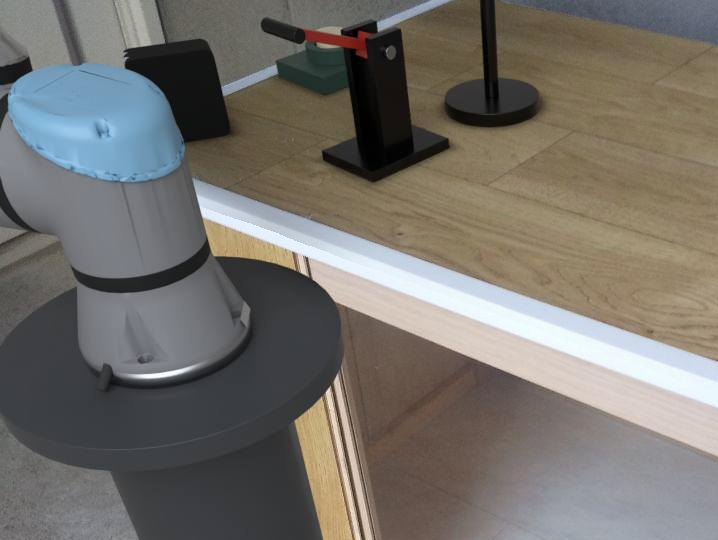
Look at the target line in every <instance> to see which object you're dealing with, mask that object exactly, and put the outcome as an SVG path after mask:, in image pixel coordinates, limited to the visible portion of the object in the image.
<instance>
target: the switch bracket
mask: <svg viewBox="0 0 718 540" xmlns="http://www.w3.org/2000/svg"><path fill="white" fill-rule="evenodd" d="M342 28H343V29H341V35H343V36H348V37H354V38H358V31H363V32H368V33H373V35H371V36H368V37H365V44H366V51H367V58H364V57H361V56H358V55H356V49H352V48H346V47H343V51H344V57H345V64H346V71H347V78H348V84H349V86H348V91H349V97H350V98H349V99H350V105H351V111H352V117H353V124H354V125H353V126H354V130H355V131H354V132H355V136H353V137H351V138H349V139H346V140H344V141H341V142H339V143H337V144H335V145H332V146H329V147H327V148H325V149H323V150H321V156H322V161H323V162H325V163H328V164H330V165H333V166H334V167H337V168H339V169H341V170H344V171H346V172H348V173H351V174H353V175H355V176H358V177H360V178H363V179H364V180H367V181H369V182H372V183H376V182H378V181H381V180H382V179H384V178H387V177H389V176H392V175H394V174H395V173H398V172H400V171H403V170H404V169H407V168H409V167H411V166H414V165H415V164H418V163H420V162H422V161H424V160H426V159H428V158H431V157H433V156H435V155H438V154H439V153H441V152H444V151H446V150H448V149H450V138H449V137H446V136H444V135H441V134H439V133H438V134H437V133H435V132H433V131H430V130H428V129H426V128H423V127H419V126H417V125H414V124H412V117H411V107H410V97H409V89H408V88H409V87H408V79H407V70H406V61H405V51H404V42H403V34H402V33H403V32H402V28H401V27H397V26H394V27H391V28H388V29H384V30H383V31H380V32H379V27H378V21H377V20H375V19H372V18H369V19H367V20H364V21H361V22H357V23H355V24H353V25H350V26H349V25H348V26H347V27H342Z"/></svg>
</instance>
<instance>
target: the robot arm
mask: <svg viewBox="0 0 718 540" xmlns="http://www.w3.org/2000/svg"><path fill="white" fill-rule="evenodd" d="M195 187H196V186H195V184H194V180H193V175H192V172H191V168H190V164H189V161H188V156H187V152H186V146H185V142H184V140H183V138H182V135H181V132H180V130H179V128H178V126H177V125H176V122H175V119H174V116H173V113H172V110H171V107H170V104H169V102H168V101H167V99H166V97H165V95H164V93H163V92H162V91H161V90H160V89H159V88H158V87H157V86H156V85H155V84H154V83H153V82H152V81H150V80H149V79H147V78H146V77H144V76H142V75H140V74H138V73H136V72H133V71H130V70H127V69H125V67H124V68H123V67H120V66H116V65H110V64H104V63H97V62H96V63H95V62H91V63H90V62H83V63H82V64H80V65H72V64H70V63H61V64H54V65H49V66H45V67H40V68H38V69H35V70H34V69H33V65H32V61H31V57H30V53H29V50H28V48H27V47H25V46H24V45H23V44H22V43H20V42H19V41H18V40H17V39H15V38H14V37H13V36H12V35H10V34H9V33H7V31H6V30H5V29H4V27H3V26H2V23H1V21H0V227H1V228H6V229H12V230H19V231H24V232H30V233H36V234H43V235H48V236H54V237H57V238H58V239H59V241H60V243H61V246H62V248H63V250H64V253H65V256H66V259H67V261H68V263H69V267H70V268H71V269H70V270H71V271H72V273H73V277H74V279H75V281H76V286H77V314H78V341H79V348H80V351H81V353H82V356H83V358H84V361H85V363H86V366H87V367H88V369H89V370H90V372H91V373H92V374H93V375H95V376H96V377H97V378H99V379H98V382H97V385H96V389H98V390H101V391H104V392H107V390H108V387H109V384H112V385H115V386H119V387H124V388H132V389H159V388H167V387H173V386H178V385H183V384H187V383H190V382H194V381H196V380H199V379H202V378H205V377H207V376H209V375H212V374H214V373H216V372H218V371H219V370H221V369H223V368H225V367H226V366H228V365H229V364H231V363H232V362H233V361H234V360H236V359H237V358H238V357H239V356H240V355H241V354H242V353H243V352H244V351H245V349H246V348H247V346H248V345H249V343H250V341H251V338H252V333H253V327H252V322H251V318H250V315H249V314H250V308H249V306H248V305H247V304H246V302H245V301H244V300H243V298H242V297H241V295H240V294H239V292H238V291H237V290H236V288H235V287H234V285H233V284H232V282H231V281H230V279H229V278H228V276H227V275H226V273H225V272H224V270H223V269H222V267H221V266H220V264H219V263H218V261H217V260H216V258H215V257H214V256H215V255H214V253H213V251H212V248H211V244H210V241H209V238H208V237H209V236H208V234H207V229H206V226H205V222H204V218H203V214H202V211H201V207H200V202H199V199H198V195H197V192H196V191H197V190H196V188H195Z"/></svg>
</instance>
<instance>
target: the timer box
mask: <svg viewBox="0 0 718 540" xmlns="http://www.w3.org/2000/svg"><path fill="white" fill-rule="evenodd" d="M304 47H305V48H304V49H305V50H302V51H299V52H295V53H293V54H290V55H288V56H285V57H281V58H278V59H276V60H275V65H276V70H277V75H278V78H280V79H282V80H285V81H288V82H290V83H293V84H296V85H298V86H301V87H304V88H306V89H309V90H311V91H313V92H316V93H319V94H322V95H324V96H327V95H329V94H331V93H334V92H337V91H339V90H343V89H345V88H348V87H349V84H348V78H347V71H346V64H345V57H344V51H343V47H337V48H320V47H317V44H316V42H311V41H305V42H304Z"/></svg>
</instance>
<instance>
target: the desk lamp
mask: <svg viewBox="0 0 718 540" xmlns="http://www.w3.org/2000/svg"><path fill="white" fill-rule="evenodd" d="M479 13H480V14H479V16H480V32H481V49H482V51H481V52H482V69H483V78H476V79H471V80H467V81H463V82H460V83H458V84H456V85H454V86H452V87H450V88H449V89H448V90H447V91H446V92H445V94H444V108H445V113H446V115H447V116H448V118H450V119H451V120H453V121H455V122H457V123H459V124H463V125H467V126H470V127H471V126H472V127H480V128H497V127H498V128H499V127H507V126H512V125H516V124H519V123H523V122H525V121H528V120H530V119H532V118H533V117H534V116H535V115H536V114H537V113H538V112H539V110H540V92H539V90H538V88H537V87H536V86H534V85H532V84H531V83H528V82H526V81H523V80H519V79H515V78H508V77H499V66H498V65H499V63H498V62H499V61H498V41H497V40H498V39H497V18H496V0H479Z"/></svg>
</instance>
